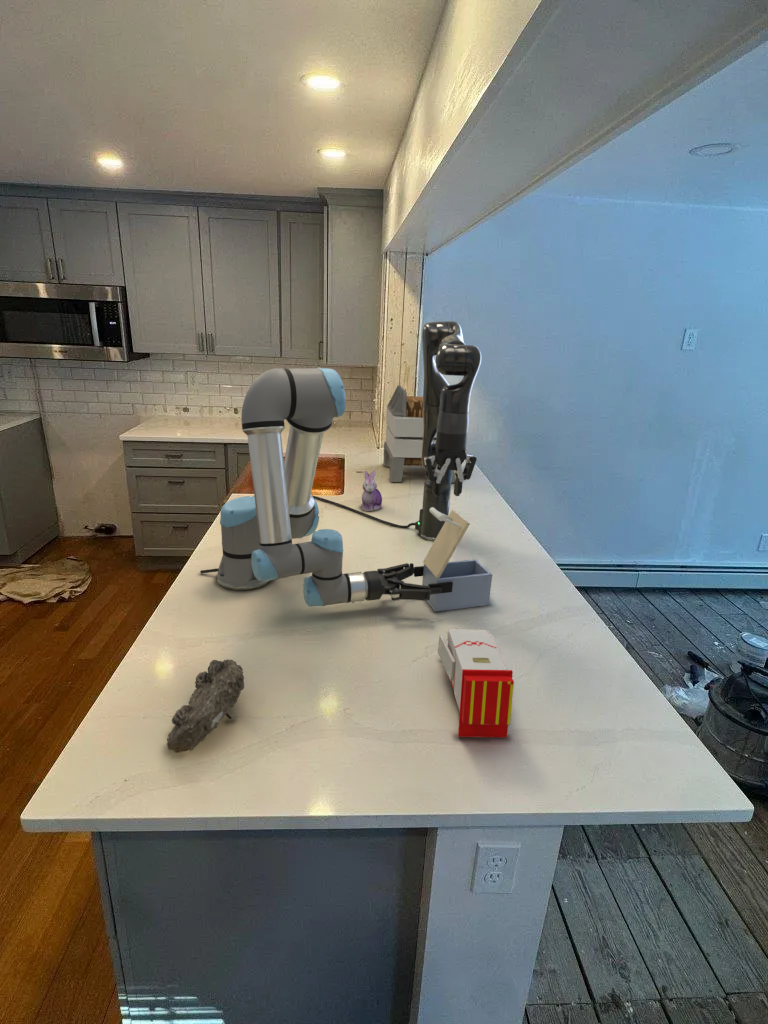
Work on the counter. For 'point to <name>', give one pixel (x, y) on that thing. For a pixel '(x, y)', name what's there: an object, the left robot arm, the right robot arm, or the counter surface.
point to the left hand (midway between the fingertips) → (443, 577)
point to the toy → (478, 682)
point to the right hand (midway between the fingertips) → (446, 495)
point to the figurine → (371, 493)
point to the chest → (460, 585)
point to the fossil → (206, 705)
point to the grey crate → (404, 434)
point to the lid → (445, 541)
